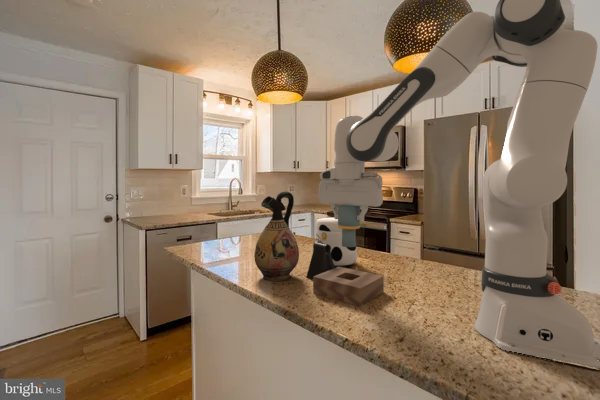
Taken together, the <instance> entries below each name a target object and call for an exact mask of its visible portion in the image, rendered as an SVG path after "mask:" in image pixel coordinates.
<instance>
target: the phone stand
mask: <svg viewBox="0 0 600 400" xmlns="http://www.w3.org/2000/svg"><path fill="white" fill-rule="evenodd" d="M308 266H309V267H308V270H307V273H306V278H307V279H309V280H312V281H313V276H316V275H319V274H321V273H324V272H326V271H329V270H331V269H334V268H336V267H334V263H333V260H332V256H331V246H330V245H328V244H324V243H320V242H316V241H315V242H314V243H313V244H312V254H311V259H310V262H309V265H308Z"/></svg>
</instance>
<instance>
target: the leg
mask: <svg viewBox="0 0 600 400" xmlns="http://www.w3.org/2000/svg"><path fill="white" fill-rule="evenodd" d="M337 209H338V228H341V229H342V246H343V247H355V243H356V240H357V239H356V230H359V229H360V228H361V224H360V223H361V222H360V221H357V215H360V213H361V210H360V206H357V205H340V204H339V205H338V207H337Z"/></svg>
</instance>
